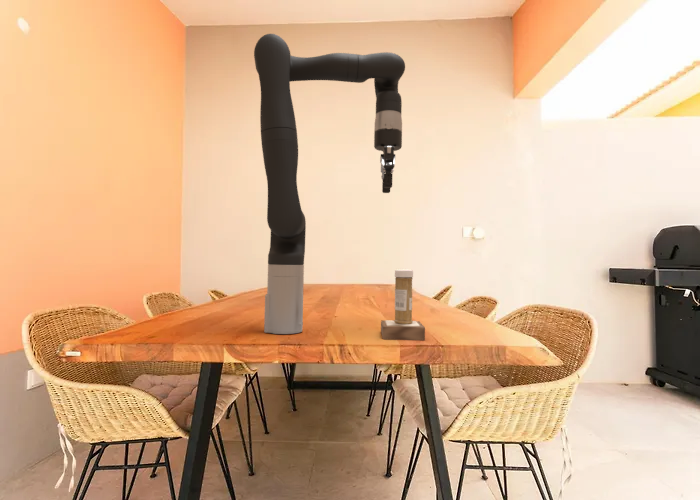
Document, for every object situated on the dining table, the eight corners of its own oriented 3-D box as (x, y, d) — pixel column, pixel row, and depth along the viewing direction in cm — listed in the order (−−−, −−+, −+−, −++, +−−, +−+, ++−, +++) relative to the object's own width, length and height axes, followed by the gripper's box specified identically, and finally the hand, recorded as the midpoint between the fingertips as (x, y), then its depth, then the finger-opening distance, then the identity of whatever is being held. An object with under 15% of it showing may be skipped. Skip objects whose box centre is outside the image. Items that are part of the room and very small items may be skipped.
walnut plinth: (382, 339, 98) (383, 325, 98) (380, 331, 108) (381, 319, 108) (424, 340, 98) (425, 326, 98) (419, 332, 108) (419, 320, 108)
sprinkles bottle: (416, 323, 102) (416, 269, 103) (402, 324, 100) (403, 269, 100) (403, 321, 106) (404, 269, 106) (390, 322, 104) (391, 269, 104)
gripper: (373, 138, 119) (372, 194, 119) (375, 122, 105) (373, 185, 105) (399, 139, 119) (398, 194, 118) (404, 122, 105) (403, 185, 104)
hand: (387, 190), depth 112 cm, fingers open, 8 cm apart
